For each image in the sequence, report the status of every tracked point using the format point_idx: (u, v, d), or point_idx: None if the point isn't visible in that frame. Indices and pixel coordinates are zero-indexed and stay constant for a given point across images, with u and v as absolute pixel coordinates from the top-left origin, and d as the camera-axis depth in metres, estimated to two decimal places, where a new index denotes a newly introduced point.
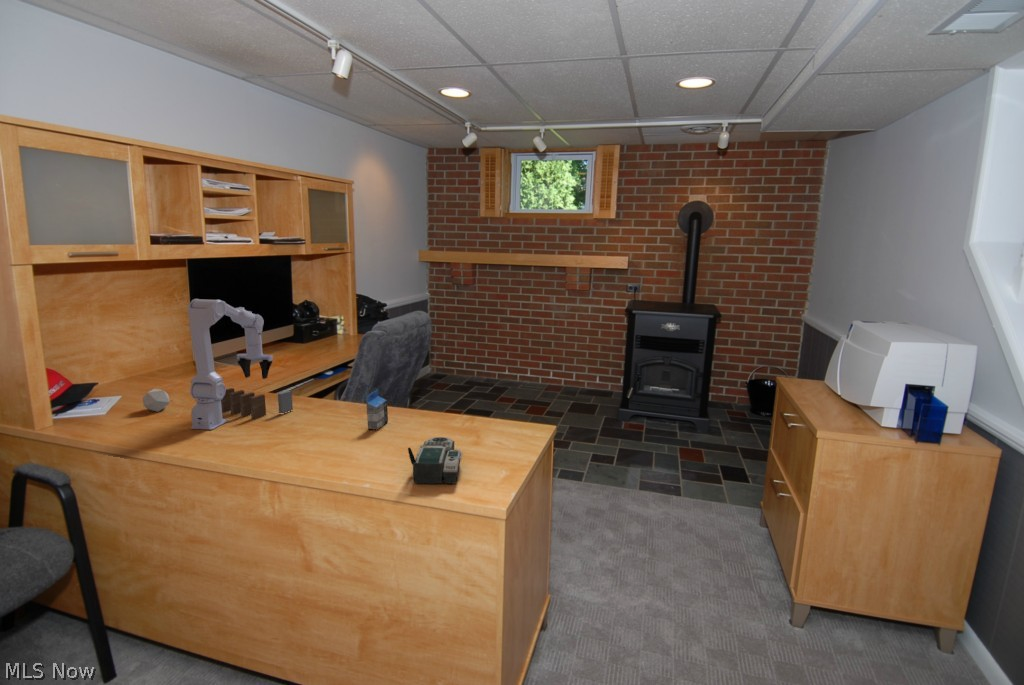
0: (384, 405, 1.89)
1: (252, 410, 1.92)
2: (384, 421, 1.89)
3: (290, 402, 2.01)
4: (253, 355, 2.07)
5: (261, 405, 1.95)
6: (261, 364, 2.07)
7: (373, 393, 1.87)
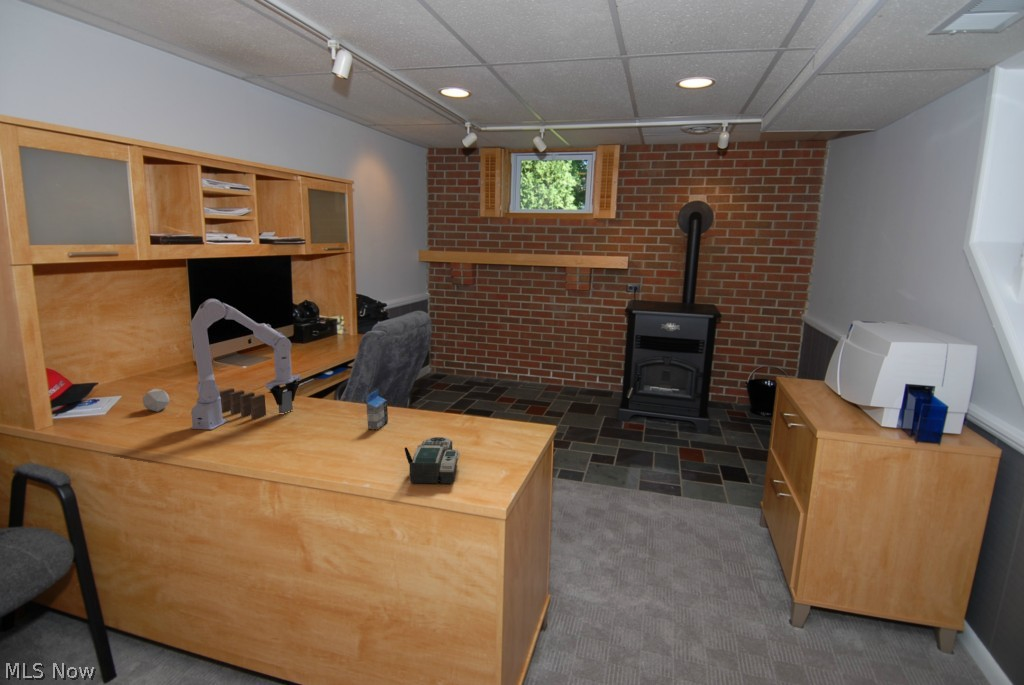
0: (384, 405, 1.89)
1: (252, 410, 1.92)
2: (384, 421, 1.89)
3: (290, 402, 2.01)
4: None
5: (261, 405, 1.95)
6: None
7: (373, 393, 1.87)
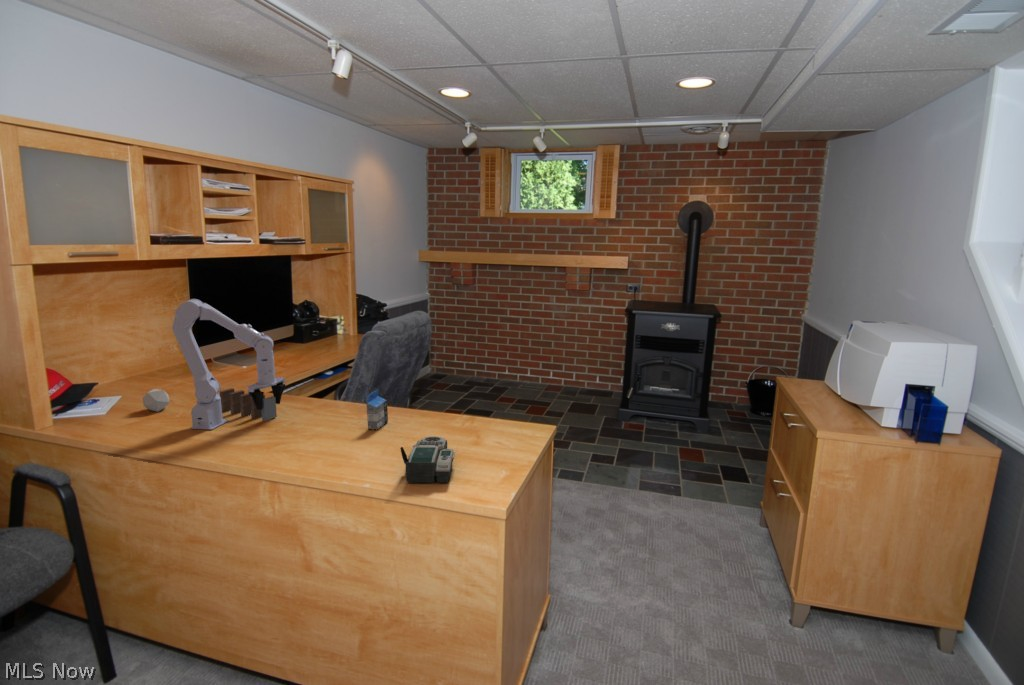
0: (384, 405, 1.89)
1: (252, 410, 1.92)
2: (384, 421, 1.89)
3: (273, 408, 1.93)
4: None
5: None
6: None
7: (373, 393, 1.87)
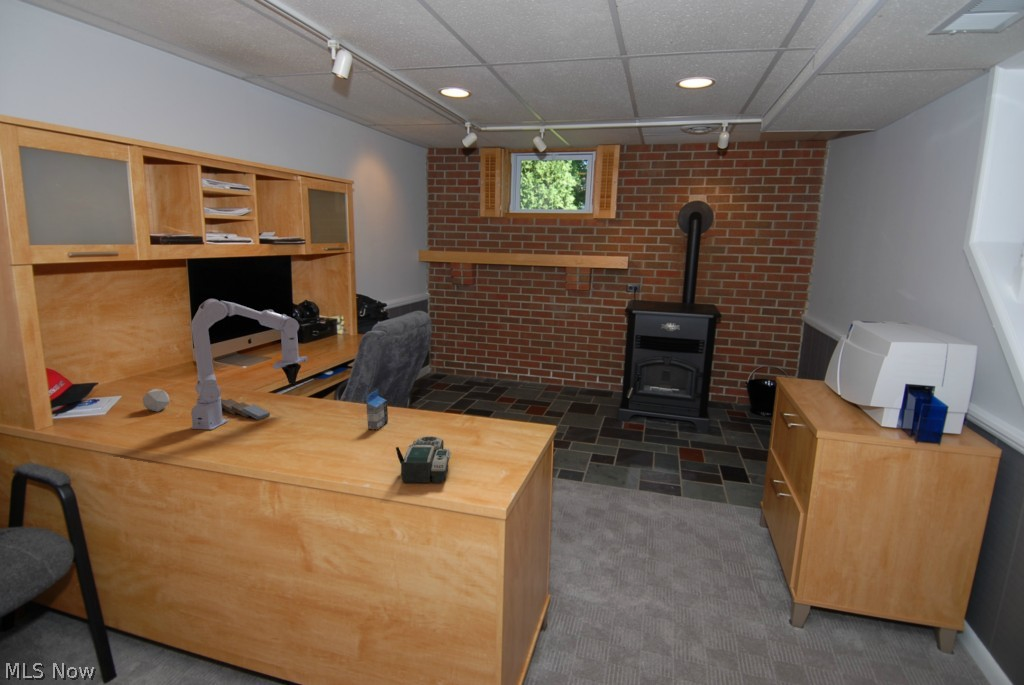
0: (384, 405, 1.89)
1: (241, 412, 1.95)
2: (384, 421, 1.89)
3: (260, 409, 1.96)
4: None
5: None
6: None
7: (373, 393, 1.87)
